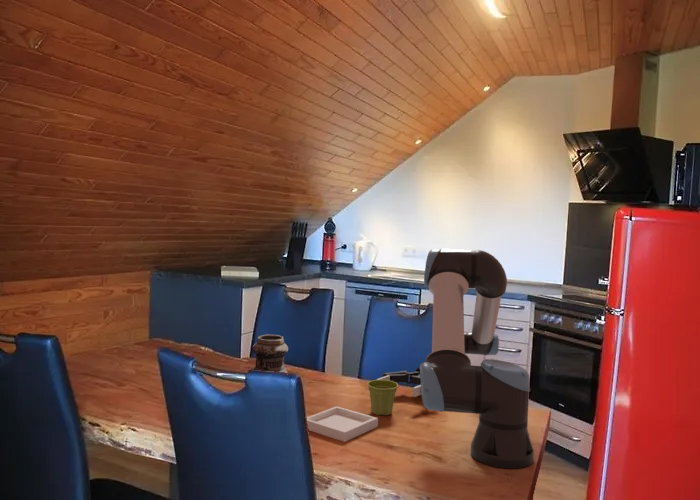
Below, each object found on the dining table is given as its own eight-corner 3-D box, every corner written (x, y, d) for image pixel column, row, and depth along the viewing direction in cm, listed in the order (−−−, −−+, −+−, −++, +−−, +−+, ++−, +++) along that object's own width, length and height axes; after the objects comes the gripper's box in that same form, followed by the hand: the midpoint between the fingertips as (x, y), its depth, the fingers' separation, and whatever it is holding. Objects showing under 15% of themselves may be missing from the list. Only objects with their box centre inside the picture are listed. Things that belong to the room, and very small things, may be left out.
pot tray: (377, 426, 163) (378, 417, 163) (344, 441, 151) (344, 432, 151) (336, 414, 172) (336, 406, 172) (301, 427, 160) (302, 419, 160)
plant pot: (403, 412, 175) (404, 384, 175) (383, 420, 168) (384, 390, 168) (380, 405, 182) (381, 378, 181) (359, 412, 175) (360, 383, 174)
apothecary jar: (276, 397, 187) (277, 342, 186) (243, 392, 191) (244, 338, 190) (293, 387, 198) (294, 335, 197) (262, 383, 202) (263, 332, 201)
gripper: (462, 393, 190) (429, 408, 173) (398, 378, 205) (362, 391, 189) (463, 370, 190) (430, 383, 173) (399, 357, 205) (363, 368, 188)
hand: (395, 387), depth 181 cm, fingers open, 13 cm apart
